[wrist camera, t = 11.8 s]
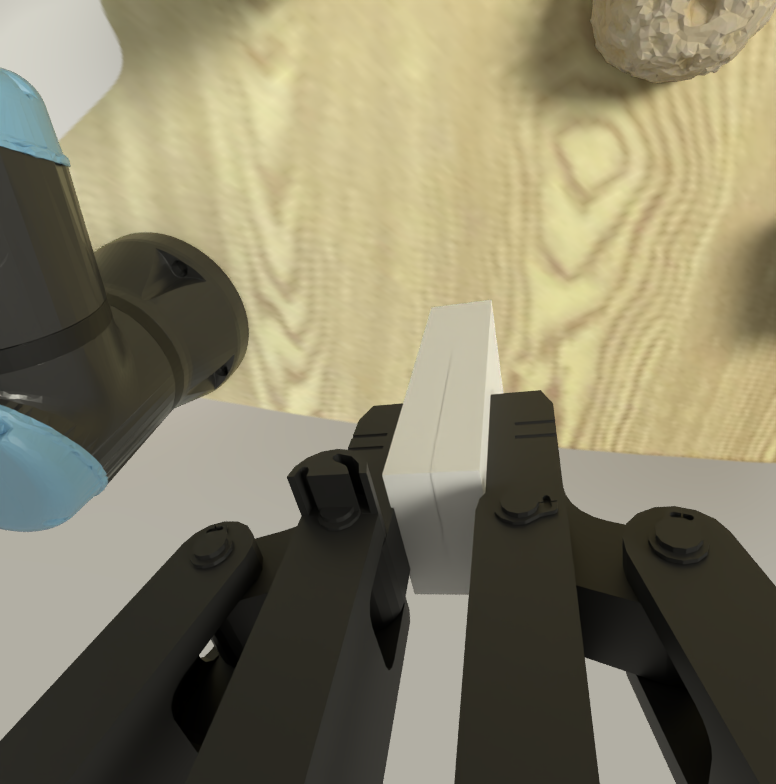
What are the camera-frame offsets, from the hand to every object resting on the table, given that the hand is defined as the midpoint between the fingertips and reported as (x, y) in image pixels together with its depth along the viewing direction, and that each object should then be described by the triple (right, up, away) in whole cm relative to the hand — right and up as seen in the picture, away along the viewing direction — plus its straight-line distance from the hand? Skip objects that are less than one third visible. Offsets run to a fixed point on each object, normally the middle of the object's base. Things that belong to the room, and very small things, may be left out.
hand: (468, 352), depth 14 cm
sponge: (+14, +22, +19) cm, 32 cm away
